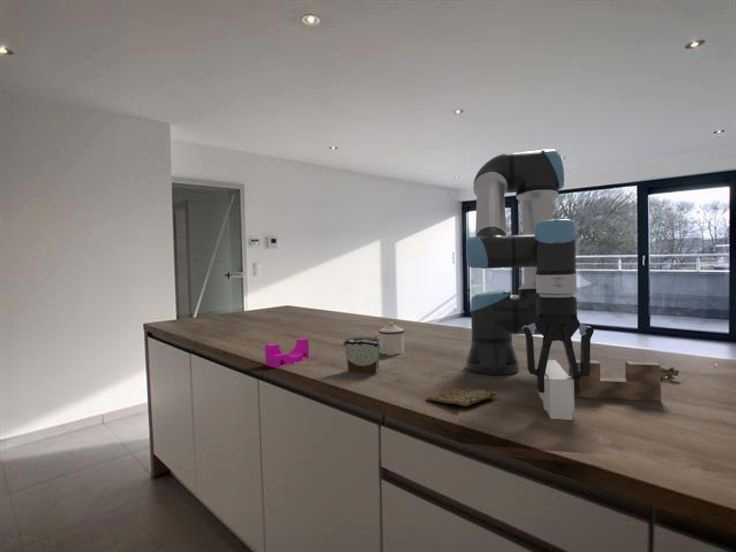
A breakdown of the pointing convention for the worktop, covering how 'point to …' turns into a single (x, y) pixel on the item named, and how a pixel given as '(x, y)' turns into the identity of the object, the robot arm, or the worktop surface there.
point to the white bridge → (558, 391)
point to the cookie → (462, 396)
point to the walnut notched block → (623, 382)
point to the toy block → (279, 359)
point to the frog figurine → (668, 374)
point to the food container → (362, 354)
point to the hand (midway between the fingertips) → (558, 408)
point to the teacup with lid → (391, 339)
